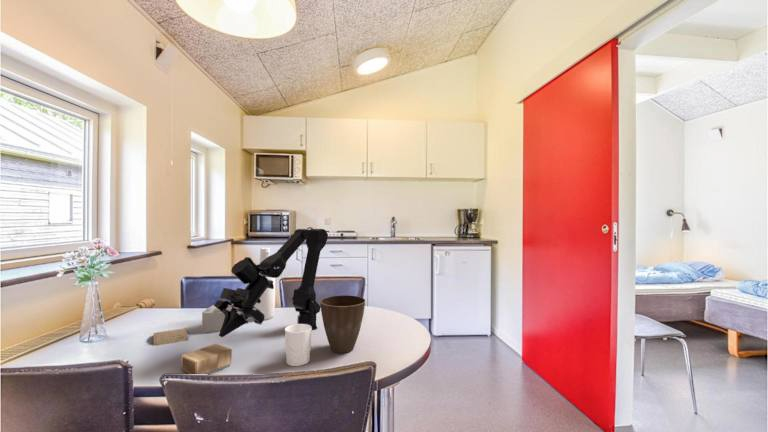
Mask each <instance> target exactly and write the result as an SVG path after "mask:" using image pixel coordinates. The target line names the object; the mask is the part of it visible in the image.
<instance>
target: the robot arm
mask: <svg viewBox="0 0 768 432" xmlns="http://www.w3.org/2000/svg"><path fill="white" fill-rule="evenodd" d="M328 235H329V234H328V233H327V231H326V229H324V228H309V229H306V228H297V229H295V230H294V233H293V234H292V235H291V236H290V237H289V238H288V239H287V241H286V242H285V243H283V245H281V247H280V248H279V249H278V250H277V251H276V252H275V253H273V254H271V255H270V256H269V257H267V258H266V259H264V260H263V261H262V262H261V263H260V262H259V263H260V264H256V263H255V262H254V261H253V260H252V258H251V257H248V256H245V257H244V259H242V260H239V261H238V262H236V263H235V264H234V265H233V266H232V267H231V269H230V271H231V273H232V274H233V275H234V277H236V278H237V280H239V281H240V282H241V283H242V284H244V285H246V284H247V285H246V286H245V288H244V289H243V288H239V287H238V288H236V289H231V288H227V287H223V288H222V292H221V294H220V296H219V299H218V300H216V302H215V303H214V304H213V305H214V306H215V307H216V308H217V309H219V310H220V311H221V312H222V313H224V314H225V319H224V322H223V325H222V328H221V330H220V332H219V334H218V336H219V337H220V338H224V337H226V336H227V335H229V334H230V333H232V332H234V331H235V330H237V329H238V327H239V328H240V327H242V326H244V325H246V324H249V319H250V318H252V319H253V322H254V323H255V324H256V325H262V324H263V322H264V321H265V320H264V316H265V315H264V314H263V313H262V312H261V311H259V310H258V309H257V308H256V307H254V306H255V304H256V303H260V302H261V300H260V297H261V296H262V294H263V293H264V292H265V290H266V289H267V288H270V289H273V288H274V285H273V281H271V280H268V279H267V278H266V277H272V278H275V279H277V278H279V277H280V276H281V275H282V273H283V272H284V270H285V269H286V266H287V262H288V261H289V259H290V258H291V257H292V256H293V255H294V254H295V252H296V251H297V250H298V249H299V248H300V247H301V246H302V244H303V243H304V242H305V244H306V248H307V254H306V258H305V262H304V266H303V267H304V268H303V273H302V278H301V283H300V286H299V287H298V288H294V290H293V296H292V298H291V300H292V305H293V306H294V309H295V312H298V315H297V318H296V319H297V323H296V324H308V325H311V326H312V330H317V329H318V326H317V314H318V313H320V312H321V305H320V304H319V303H318V302H317V301H316V299H317V297H316V296H317V294H316V290H315V288H314V287H315V281H316V277H317V276H316V275H317V271H318V265H319V259H320V255H321V252H322V250H323V249H324V247H326V244H327V241H328ZM259 273H260V274H261V275H262V276H261V275H260V274H259ZM232 304H233V305H232Z"/></svg>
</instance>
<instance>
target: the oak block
mask: <svg viewBox="0 0 768 432" xmlns="http://www.w3.org/2000/svg"><path fill="white" fill-rule="evenodd" d="M232 350H233V349H232V348H230V347H227V346H224V345H222V344H218V343H213V344H211V345H207V346H205V347H201V348H198V349H196V350H193V351H189V352H186V353H183V354H182V355H181V357H180V358H181V360H180V361H181V362H180V365H181V366H180V367H181V368H180V370H181V371H184V372H185V373H187V374H189V375H191V374H206V373H208V372H211V371H213V370H216V369H218V368H220V367H223V366H225V365H228V364H229V365H230V364H232V359H233V357H232V356H233V354H232V352H233V351H232Z"/></svg>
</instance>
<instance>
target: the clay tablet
mask: <svg viewBox="0 0 768 432" xmlns="http://www.w3.org/2000/svg"><path fill="white" fill-rule="evenodd" d="M152 335H153V337H152V338H153V346H154V347H157V346H163V345H169V344H175V343H181V342H187V341H188V340H189V338H188V331H187V328H186V327H184V328H179V329H172V330H164V331H157V332H153V334H152Z"/></svg>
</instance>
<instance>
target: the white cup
mask: <svg viewBox="0 0 768 432" xmlns="http://www.w3.org/2000/svg"><path fill="white" fill-rule="evenodd" d="M312 330H313V329H312V326H311V325H308V324H297V323H296V324H294V323H293V324H291V325H288V326H287V327H285V328H284V339H285V341H284V343H285V344H284V345H285V357H286V364H287V365H288V366H292V367H299V366H304V365H306V364H308V363H309V362H310V361H311V360H310V356H311V355H310V354H311V348H312V347H311V346H312V332H313V331H312Z"/></svg>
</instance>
